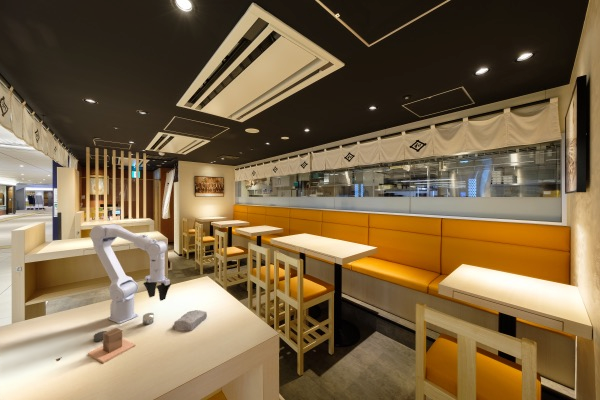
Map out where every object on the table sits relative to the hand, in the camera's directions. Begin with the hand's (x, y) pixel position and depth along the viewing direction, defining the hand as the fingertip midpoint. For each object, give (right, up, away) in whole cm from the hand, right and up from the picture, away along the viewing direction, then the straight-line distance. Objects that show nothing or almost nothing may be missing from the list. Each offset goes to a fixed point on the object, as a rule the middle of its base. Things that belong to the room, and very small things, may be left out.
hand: (157, 298), depth 105 cm
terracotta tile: (-2, -9, -22) cm, 24 cm away
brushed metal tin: (-2, -9, -4) cm, 10 cm away
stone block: (+17, -10, -3) cm, 20 cm away
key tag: (-18, -10, -26) cm, 33 cm away
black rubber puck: (-13, -9, -15) cm, 22 cm away
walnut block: (-2, -9, -22) cm, 24 cm away
